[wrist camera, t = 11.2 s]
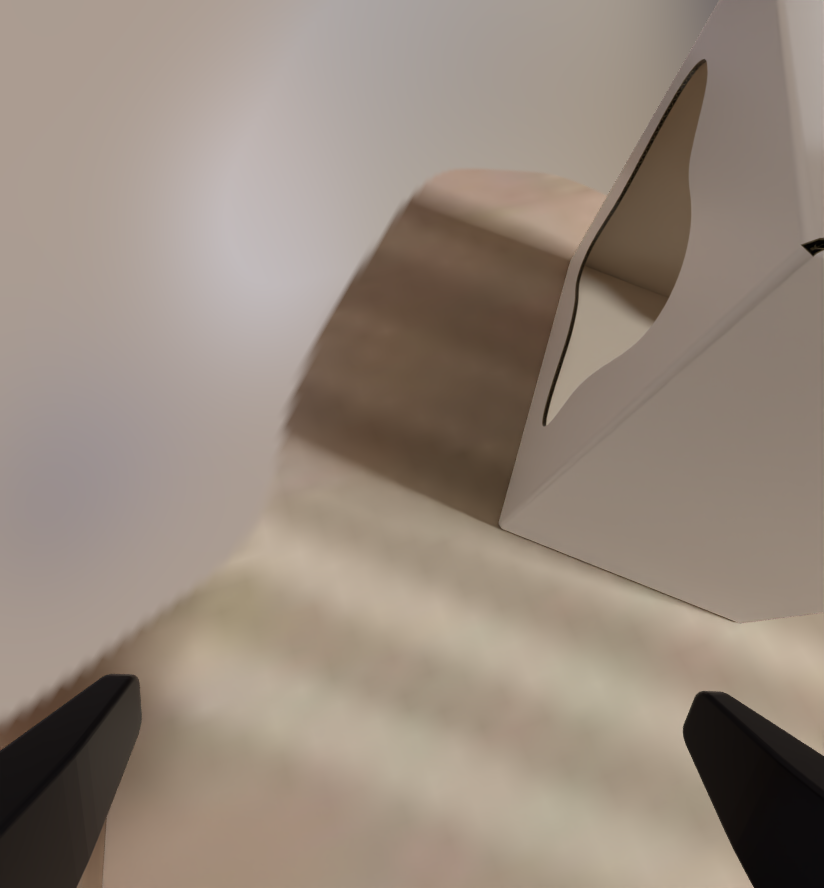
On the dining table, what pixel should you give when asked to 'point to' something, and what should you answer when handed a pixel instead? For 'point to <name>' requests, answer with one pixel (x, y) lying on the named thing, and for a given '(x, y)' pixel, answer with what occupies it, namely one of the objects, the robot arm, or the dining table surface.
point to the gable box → (698, 339)
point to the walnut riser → (95, 864)
